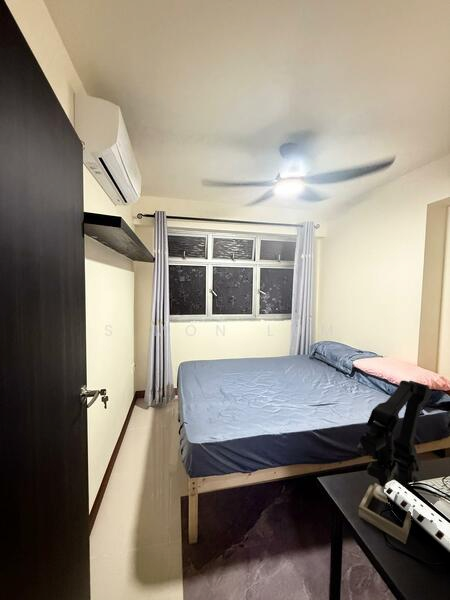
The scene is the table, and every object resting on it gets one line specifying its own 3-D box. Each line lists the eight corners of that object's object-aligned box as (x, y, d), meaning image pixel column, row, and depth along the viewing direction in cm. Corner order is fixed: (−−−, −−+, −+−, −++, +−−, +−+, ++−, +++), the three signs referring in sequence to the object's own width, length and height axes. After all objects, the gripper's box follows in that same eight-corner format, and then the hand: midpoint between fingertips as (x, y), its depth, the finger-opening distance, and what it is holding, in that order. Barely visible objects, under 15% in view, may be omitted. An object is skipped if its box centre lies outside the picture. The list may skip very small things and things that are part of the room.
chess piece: (393, 499, 90) (394, 473, 90) (378, 497, 91) (379, 471, 91) (387, 488, 95) (387, 463, 95) (373, 487, 96) (373, 462, 96)
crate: (370, 493, 94) (370, 484, 94) (413, 515, 85) (413, 505, 85) (358, 516, 85) (358, 506, 85) (405, 543, 76) (405, 532, 75)
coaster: (375, 484, 98) (375, 482, 98) (396, 494, 93) (396, 493, 93) (369, 495, 93) (369, 493, 93) (391, 506, 88) (391, 505, 88)
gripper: (367, 424, 104) (367, 460, 105) (351, 444, 91) (351, 485, 92) (399, 435, 96) (398, 474, 97) (387, 459, 83) (386, 504, 84)
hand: (383, 483), depth 93 cm, fingers open, 3 cm apart
